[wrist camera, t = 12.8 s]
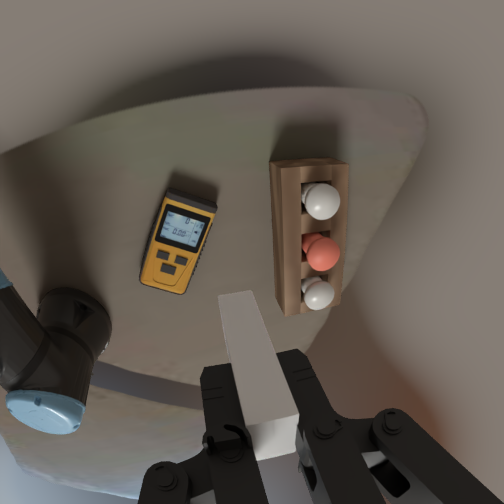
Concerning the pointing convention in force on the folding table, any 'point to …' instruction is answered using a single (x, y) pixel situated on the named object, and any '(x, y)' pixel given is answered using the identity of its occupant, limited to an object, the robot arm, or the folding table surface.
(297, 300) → the socket block
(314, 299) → the grey plug
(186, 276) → the electronic device
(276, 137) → the folding table surface
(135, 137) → the folding table surface
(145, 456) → the folding table surface
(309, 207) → the grey plug
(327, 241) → the red plug
